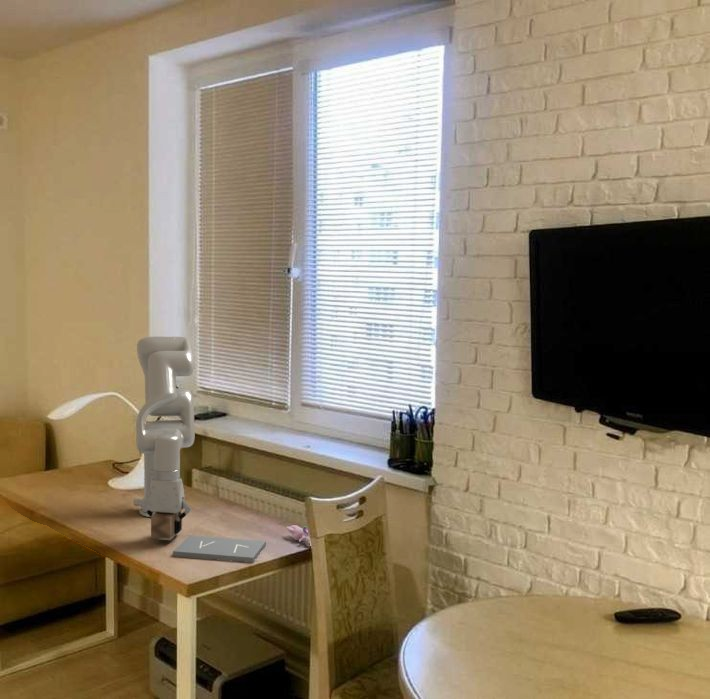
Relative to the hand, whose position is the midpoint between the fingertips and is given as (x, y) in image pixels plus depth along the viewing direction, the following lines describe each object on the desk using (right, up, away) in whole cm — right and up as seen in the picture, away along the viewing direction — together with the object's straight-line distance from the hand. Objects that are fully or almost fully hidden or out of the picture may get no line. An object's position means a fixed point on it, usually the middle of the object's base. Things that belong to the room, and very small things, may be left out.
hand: (166, 531), depth 239 cm
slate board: (+18, -4, -8) cm, 20 cm away
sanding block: (0, -1, 0) cm, 1 cm away
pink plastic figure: (+41, -4, +2) cm, 42 cm away
